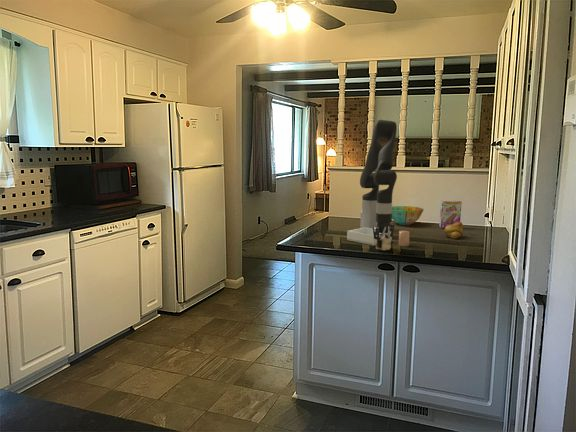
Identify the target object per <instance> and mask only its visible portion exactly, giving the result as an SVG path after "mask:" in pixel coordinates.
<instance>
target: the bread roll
mask: <svg viewBox="0 0 576 432" xmlns="http://www.w3.org/2000/svg"><path fill="white" fill-rule="evenodd" d="M443 229H444V230H443V233H444V234H445V237H447V238H451V239H457V240H458V239H460V238H461V237H462V236H463V233H464V232H463V231H464V223H462V222H461V221H460V222H457V223H455V224H453V225H447V226H446V227H445V228H443Z"/></svg>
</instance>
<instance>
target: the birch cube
mask: <svg viewBox="0 0 576 432" xmlns="http://www.w3.org/2000/svg"><path fill="white" fill-rule="evenodd" d="M391 243H392V242H391V239H389V238H384V237H382V248H378V247H377V240H376V245H375V250H380V251H389V250H391V247H392V246H391Z"/></svg>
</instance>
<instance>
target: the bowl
mask: <svg viewBox="0 0 576 432" xmlns="http://www.w3.org/2000/svg"><path fill="white" fill-rule="evenodd" d="M424 210H425V209H424V208H422V207H418V206H409V205H408V206H405V205H397V206H394V205H392V221H394V222H395V223H397V224H398V225H400V226H411V225H412V224H415V223H416V222H417V221H418V220H419V219H420V217H421V216H422V214H423V212H424Z"/></svg>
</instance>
